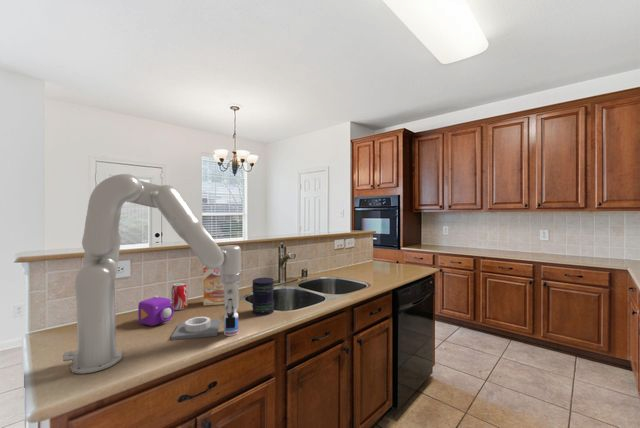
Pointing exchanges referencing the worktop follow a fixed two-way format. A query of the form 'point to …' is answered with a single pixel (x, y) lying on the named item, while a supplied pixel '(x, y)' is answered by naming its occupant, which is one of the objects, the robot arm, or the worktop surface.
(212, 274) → the coffeecake box
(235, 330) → the pill bottle
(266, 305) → the storage jar
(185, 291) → the soda can
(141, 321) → the toy camera
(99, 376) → the worktop surface
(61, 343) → the worktop surface
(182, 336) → the mount board
